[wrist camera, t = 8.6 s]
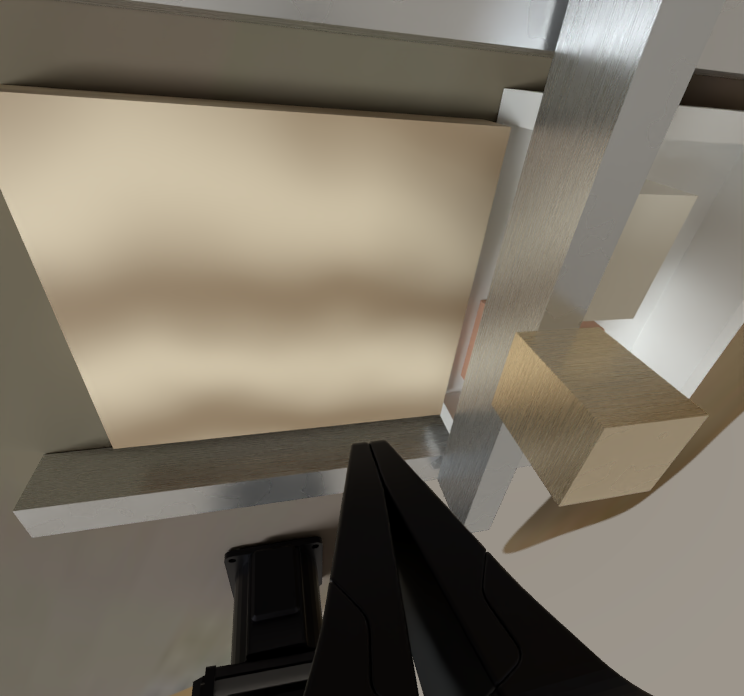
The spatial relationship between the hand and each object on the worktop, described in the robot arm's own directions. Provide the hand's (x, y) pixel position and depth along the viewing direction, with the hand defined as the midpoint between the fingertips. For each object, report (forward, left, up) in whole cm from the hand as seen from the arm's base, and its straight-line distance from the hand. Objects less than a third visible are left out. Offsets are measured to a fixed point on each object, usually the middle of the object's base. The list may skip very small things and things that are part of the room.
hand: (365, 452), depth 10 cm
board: (0, +2, -9) cm, 9 cm away
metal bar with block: (0, -7, -6) cm, 9 cm away
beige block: (+3, -8, -6) cm, 11 cm away
